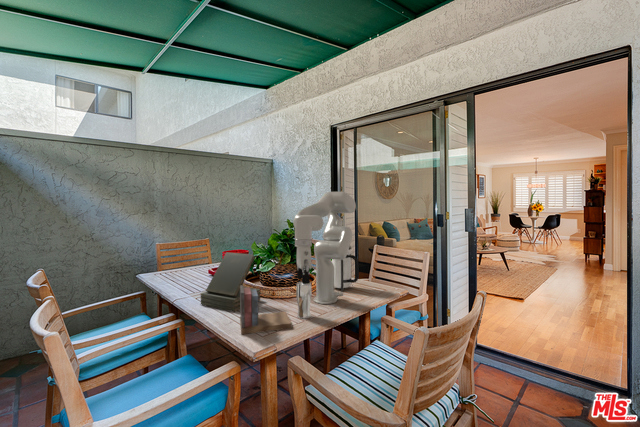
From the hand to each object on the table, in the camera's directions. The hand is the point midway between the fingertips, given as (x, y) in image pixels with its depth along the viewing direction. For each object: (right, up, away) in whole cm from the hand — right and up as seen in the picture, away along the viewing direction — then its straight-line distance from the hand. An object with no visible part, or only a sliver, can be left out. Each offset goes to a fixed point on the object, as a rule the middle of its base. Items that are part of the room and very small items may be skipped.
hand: (303, 281), depth 134 cm
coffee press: (+22, -15, +45) cm, 52 cm away
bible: (-39, -17, +21) cm, 47 cm away
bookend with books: (-16, -17, -8) cm, 24 cm away
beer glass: (0, -16, +1) cm, 16 cm away
